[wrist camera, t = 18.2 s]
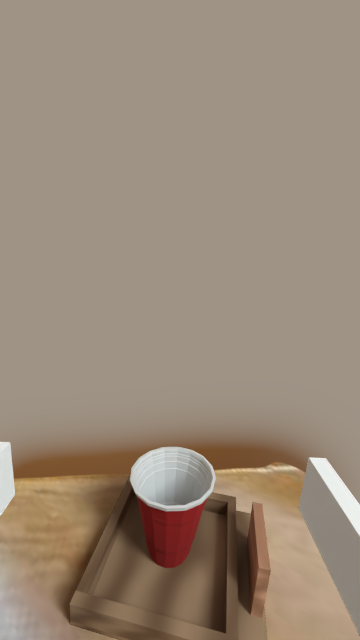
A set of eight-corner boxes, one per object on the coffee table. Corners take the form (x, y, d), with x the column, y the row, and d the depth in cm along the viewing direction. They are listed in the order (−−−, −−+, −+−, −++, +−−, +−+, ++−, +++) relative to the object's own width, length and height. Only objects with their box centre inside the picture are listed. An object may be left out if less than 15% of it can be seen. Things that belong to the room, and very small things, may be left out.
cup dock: (70, 624, 29) (67, 571, 27) (129, 490, 45) (130, 452, 44) (271, 686, 25) (282, 630, 24) (255, 517, 42) (261, 477, 40)
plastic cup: (193, 501, 44) (198, 437, 41) (221, 577, 33) (231, 498, 31) (125, 515, 41) (126, 447, 38) (132, 603, 30) (135, 518, 28)
